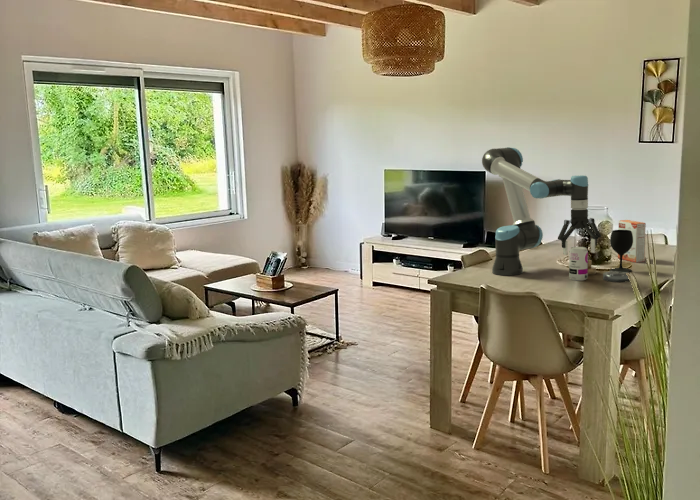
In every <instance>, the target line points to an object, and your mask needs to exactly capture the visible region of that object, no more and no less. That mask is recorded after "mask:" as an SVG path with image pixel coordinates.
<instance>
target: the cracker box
mask: <svg viewBox="0 0 700 500" xmlns="http://www.w3.org/2000/svg"><path fill="white" fill-rule="evenodd" d="M646 227H647V225H646V222H643V221H637V220H632V219H621V220H618V230H630V231H632V235H633V245H632V247H631V249H630V250H629V251H628V252H626V253H625V254H624V255H623V257H622V260H624V261H627V262H632V263H636V264H638V263H643V262H645V258H646V256H645V255H646ZM617 259H620V256H619V254H618V253H617Z"/></svg>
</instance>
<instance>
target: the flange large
mask: <svg viewBox="0 0 700 500" xmlns="http://www.w3.org/2000/svg"><path fill="white" fill-rule="evenodd" d="M626 273H628V272H619V271H610V270H609V271H605V272H603V273H602V280H603V281H606V282H612V283H626V282H625V281H628V282H630V281H629V279H628V276H627V275H626ZM629 274H631V272H629Z"/></svg>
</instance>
